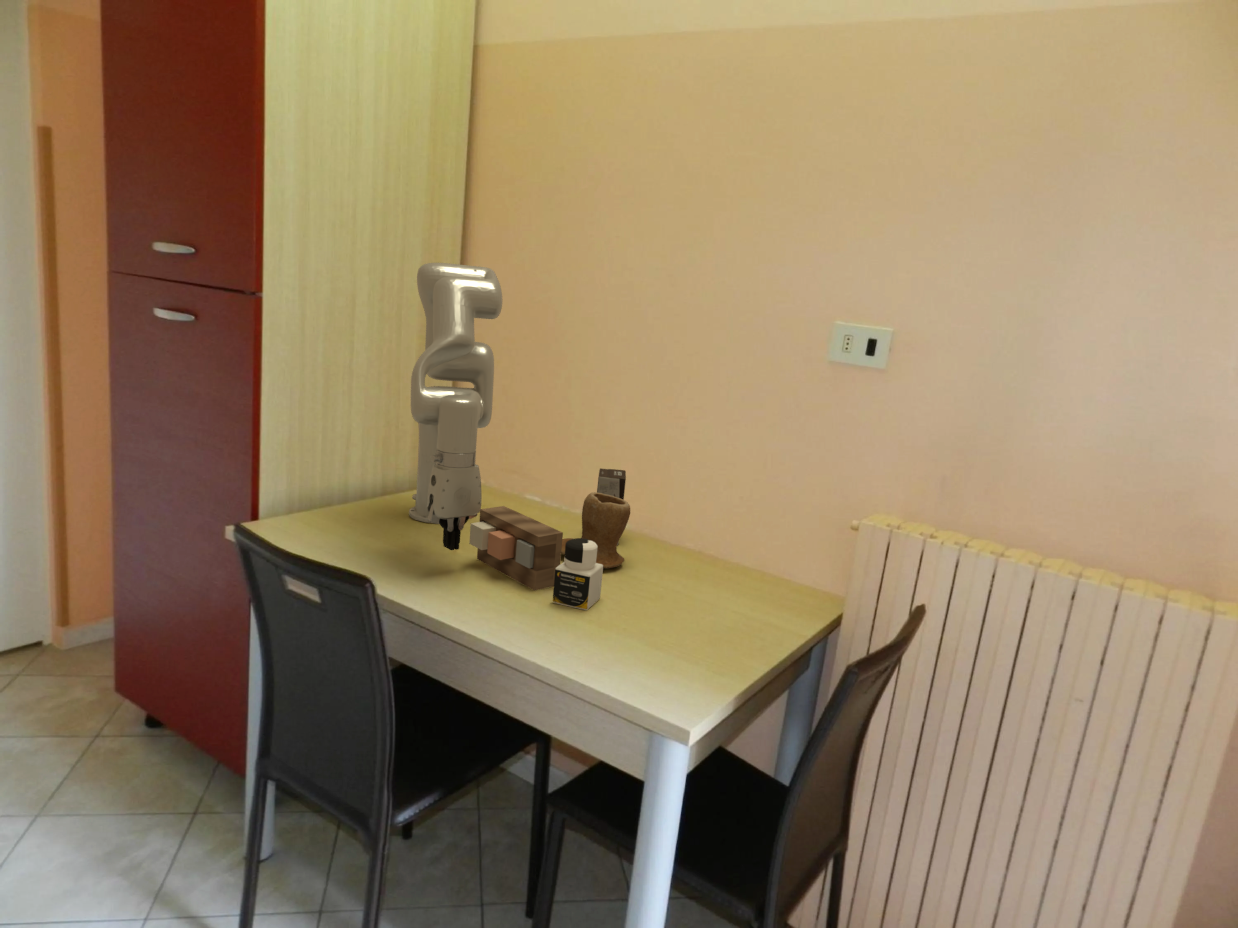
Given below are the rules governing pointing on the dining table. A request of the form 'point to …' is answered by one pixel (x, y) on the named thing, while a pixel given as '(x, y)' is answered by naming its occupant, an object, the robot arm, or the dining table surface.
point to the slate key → (525, 553)
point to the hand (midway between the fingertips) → (451, 547)
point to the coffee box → (612, 483)
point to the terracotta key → (501, 544)
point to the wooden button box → (532, 532)
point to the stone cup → (604, 526)
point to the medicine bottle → (578, 575)
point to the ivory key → (480, 534)
